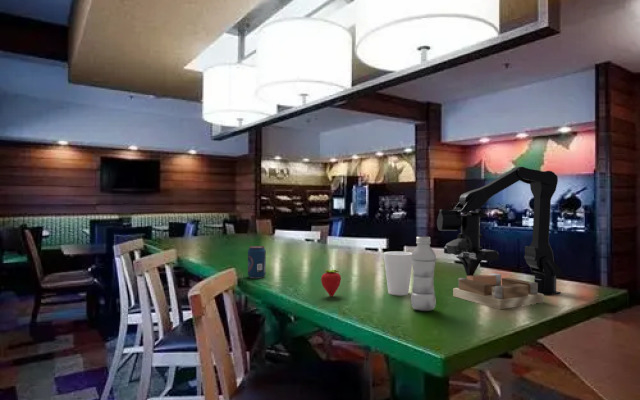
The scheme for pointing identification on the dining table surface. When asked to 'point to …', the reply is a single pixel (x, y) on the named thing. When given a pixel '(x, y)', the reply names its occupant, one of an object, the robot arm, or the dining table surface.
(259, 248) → the soda can
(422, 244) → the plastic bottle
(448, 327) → the dining table surface
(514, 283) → the flat cream base board
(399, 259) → the foam cup
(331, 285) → the strawberry
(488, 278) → the hinged leg
